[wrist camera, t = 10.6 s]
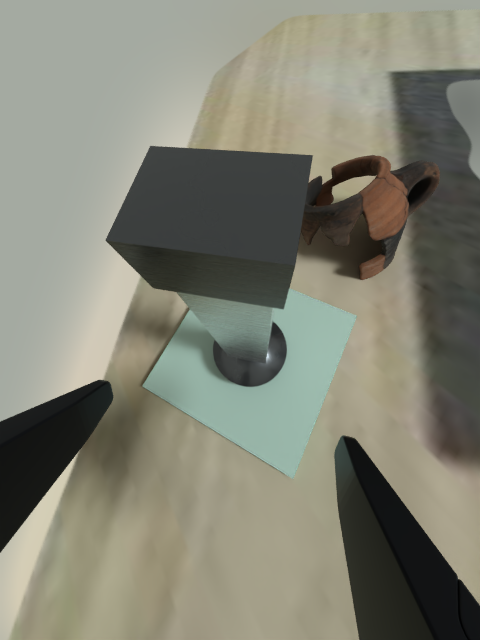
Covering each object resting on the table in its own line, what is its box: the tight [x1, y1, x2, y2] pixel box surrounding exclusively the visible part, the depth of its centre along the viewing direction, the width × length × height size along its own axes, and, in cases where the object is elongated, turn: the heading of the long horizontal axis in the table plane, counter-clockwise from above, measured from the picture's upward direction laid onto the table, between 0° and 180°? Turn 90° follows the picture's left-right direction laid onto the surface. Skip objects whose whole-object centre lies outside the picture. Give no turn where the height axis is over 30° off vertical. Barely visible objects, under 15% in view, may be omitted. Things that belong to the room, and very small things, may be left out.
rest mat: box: [143, 288, 357, 479], centre depth 20 cm, size 14×14×1 cm
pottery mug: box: [301, 155, 440, 280], centre depth 21 cm, size 12×10×8 cm
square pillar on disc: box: [106, 146, 313, 387], centre depth 12 cm, size 6×6×16 cm
